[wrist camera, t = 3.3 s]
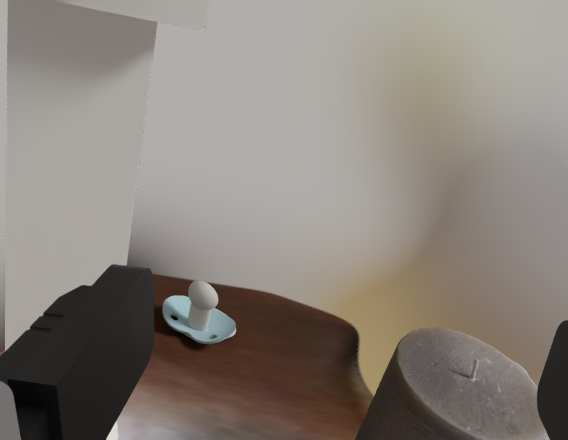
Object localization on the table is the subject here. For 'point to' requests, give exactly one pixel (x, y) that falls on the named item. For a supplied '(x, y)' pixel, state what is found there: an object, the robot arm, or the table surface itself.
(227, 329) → the pacifier
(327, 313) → the table surface
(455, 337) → the pillar candle
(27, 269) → the stand
